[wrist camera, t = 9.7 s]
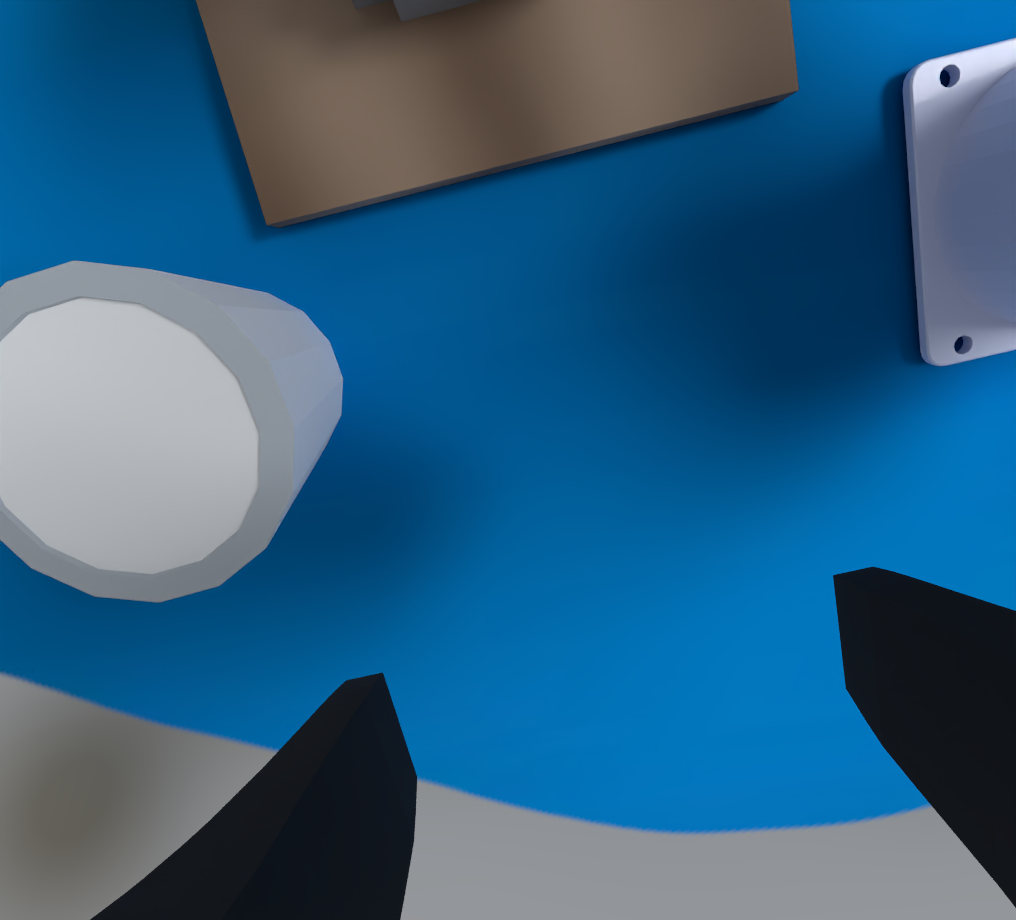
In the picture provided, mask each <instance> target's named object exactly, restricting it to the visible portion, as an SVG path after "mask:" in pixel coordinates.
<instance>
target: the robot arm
mask: <svg viewBox="0 0 1016 920" xmlns="http://www.w3.org/2000/svg"><path fill="white" fill-rule="evenodd" d="M943 69H945V70H946V71H947V72H949V75H950V82H949V85H948V86H947V87H944V86H943V85H942V84H941V83H940V79H939V77H940V72H941V71H942V70H943ZM903 101H904V116H905V131H906V146H907V160H908V175H909V190H910V205H911V219H912V234H913V249H914V264H915V278H916V293H917V308H918V323H919V338H920V352H921V355H922V358H923V359H924V360H925V361H926V362H927V363H929V364H932V365H936V366H947V365H951V364H955V363H960V362H964V361H969V360H973V359H977V358H982V357H986V356H990V355H995V354H999V353H1003V352H1008V351H1012V350H1016V38H1013V39H1010V40H1006V41H1002V42H998V43H994V44H990V45H986V46H982V47H978V48H974V49H970V50H966V51H962V52H958V53H954V54H950V55H946V56H942V57H938V58H935V59H931V60H927V61H925V62H923V63H921V64H919V65H917V66H915V67H913V68H912V69H911V70H910V71H909V72H908V73H907V75H906V77H905V79H904V82H903ZM959 337H962V338H963V346H962V347H961V349H960V350H959V351H957V352H956V351H955V349H954V344H955V341H956V340H957V339H958V338H959ZM833 578H834V587H835V596H836V605H837V614H838V622H839V631H840V640H841V649H842V658H843V667H844V675H845V684H846V689H847V691H848V692H849V694H850V696H851V697H852V699H853V701H854V702H855V704H856V705H857V707H858V709H859V710H860V712H861V713H862V715H863V717H864V718H865V720H866V721H867V723H868V724H869V726H870V728H871V729H872V731H873V732H874V734H875V735H876V737H877V738H878V740H879V741H880V743H881V744H882V746H883V747H884V748H885V749H886V751H887V752H888V753H889V754H890V756H891V757H892V758H893V759H894V761H895V762H896V763H897V764H898V766H899V767H900V768H901V769H902V770H903V772H904V773H905V774H906V775H907V776H908V778H909V779H910V780H911V781H912V783H913V784H914V785H915V786H916V787H917V789H918V790H919V791H920V792H921V793H922V795H923V796H924V797H925V798H926V799H927V801H928V802H929V803H930V804H931V805H932V807H933V808H934V809H935V810H936V811H937V813H938V814H939V815H940V816H941V817H942V819H943V820H944V821H945V822H946V823H947V824H948V826H949V827H950V828H951V829H952V830H953V832H954V833H955V834H956V835H957V836H958V838H959V839H960V840H961V841H962V842H963V844H964V845H965V846H966V847H967V848H968V850H969V851H970V852H971V853H972V854H973V856H974V857H975V858H976V859H977V860H978V862H979V863H980V864H981V865H982V866H983V867H984V869H985V870H986V871H987V872H988V873H989V875H990V876H991V877H992V878H993V880H994V881H995V882H996V883H997V884H998V886H999V887H1000V888H1001V889H1002V891H1003V892H1004V893H1005V895H1006V896H1007V897H1008V898H1009V900H1010V901H1011V902H1012V904H1013V905H1014V906H1015V907H1016V611H1014V610H1011V609H1008V608H1005V607H1002V606H998V605H995V604H992V603H989V602H986V601H983V600H980V599H977V598H974V597H971V596H968V595H965V594H961V593H958V592H955V591H952V590H949V589H946V588H943V587H940V586H937V585H934V584H931V583H928V582H925V581H922V580H919V579H916V578H912V577H909V576H906V575H903V574H899V573H896V572H892V571H889V570H885V569H881V568H876V567H869V568H865V569H860V570H856V571H851V572H846V573H842V574H837V575H833ZM416 792H417V775H416V772H415V769H414V766H413V763H412V760H411V757H410V754H409V751H408V748H407V745H406V742H405V739H404V736H403V733H402V730H401V727H400V723H399V720H398V717H397V714H396V711H395V708H394V705H393V702H392V699H391V696H390V693H389V690H388V687H387V684H386V681H385V678H384V675H383V673H379V674H374V675H369V676H365V677H360V678H356V679H351V680H346V681H345V682H344V683H343V684H342V685H341V686H340V687H339V688H338V689H337V690H336V691H335V692H334V693H333V694H332V695H331V696H330V697H329V698H328V699H327V700H326V701H325V702H324V703H323V704H322V705H321V706H320V707H319V708H318V709H317V711H316V712H315V713H314V714H313V715H312V716H311V717H310V718H309V719H308V720H307V721H306V722H305V724H304V725H303V726H302V727H301V728H300V729H299V730H298V731H297V732H296V733H295V734H294V735H293V736H292V737H291V739H290V740H289V741H288V742H287V743H286V744H285V745H284V746H283V747H282V748H281V749H280V750H279V751H278V752H277V754H276V755H275V756H274V757H273V758H272V759H271V760H270V761H269V762H268V763H267V764H266V765H265V766H264V767H263V768H262V769H261V770H260V771H259V772H258V773H257V774H256V775H255V776H254V777H253V778H252V779H251V780H250V781H249V782H248V783H247V784H246V785H245V786H244V787H243V788H242V789H241V790H240V791H239V792H238V793H237V794H236V795H235V796H234V797H233V798H232V799H231V800H230V801H229V802H228V803H227V804H226V805H225V806H224V807H223V808H222V809H221V810H220V811H219V812H218V813H217V814H216V815H215V816H214V817H213V818H212V819H211V820H210V821H209V822H208V823H206V824H205V825H204V826H203V827H202V828H201V829H200V830H199V831H198V832H197V833H196V834H195V835H193V836H192V837H191V838H190V839H189V840H188V841H187V842H186V843H185V844H183V845H182V846H181V847H180V848H179V849H178V850H177V851H175V852H174V853H173V854H172V855H171V856H170V857H168V858H167V859H166V860H165V861H164V862H162V863H161V864H160V865H159V866H158V867H157V868H155V869H154V870H153V871H152V872H151V873H149V874H148V875H147V876H146V877H145V878H144V879H142V880H141V881H140V882H139V883H138V884H136V885H135V886H134V887H132V888H131V889H130V890H129V891H128V892H126V893H125V894H124V895H122V896H121V897H120V898H118V899H117V900H116V901H114V902H113V903H112V904H110V905H109V906H108V907H106V908H105V909H104V910H102V911H101V912H100V913H98V914H97V915H96V916H94V917H93V918H92V919H91V920H400V917H401V912H402V907H403V901H404V896H405V890H406V884H407V878H408V873H409V867H410V860H411V855H412V848H413V843H414V831H415V815H416Z"/></svg>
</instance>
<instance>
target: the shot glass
mask: <svg viewBox="0 0 1016 920" xmlns="http://www.w3.org/2000/svg"><path fill="white" fill-rule="evenodd" d="M342 390H343V377H342V374H341V371H340V369H339V366H338V363H337V360H336V357H335V355H334V352H333V349H332V346H331V344H330V342H329V340H328V339H327V338H326V337H325V336H324V335H323V333H322V332H321V331H320V330H319V329H318V328H317V327H316V325H315V324H314V323H313V322H312V321H311V320H310V318H309V317H308V316H307V315H306V314H305V313H304V312H303V311H301V310H299V309H297V308H296V307H294V306H292V305H290V304H288V303H286V302H284V301H283V300H281V299H279V298H277V297H275V296H273V295H271V294H269V293H266V292H261V291H256V290H251V289H246V288H241V287H236V286H231V285H226V284H221V283H216V282H211V281H206V280H201V279H196V278H191V277H186V276H181V275H176V274H171V273H166V272H161V271H156V270H151V269H144V268H136V267H127V266H118V265H109V264H100V263H91V262H82V261H71V262H68V263H65V264H61V265H58V266H55V267H52V268H49V269H46V270H42V271H39V272H36V273H33V274H30V275H27V276H23V277H20V278H17V279H14V280H11V281H8V282H6V283H5V284H4V285H3V286H2V287H1V288H0V540H1V541H2V542H3V543H4V544H5V545H7V546H8V547H9V548H10V549H11V550H12V551H13V552H14V553H15V554H16V555H17V556H19V557H20V558H21V559H22V560H23V561H24V562H25V563H26V564H27V565H28V566H29V567H31V568H32V569H34V570H36V571H39V572H41V573H43V574H45V575H48V576H50V577H52V578H54V579H56V580H59V581H61V582H63V583H65V584H68V585H70V586H72V587H74V588H76V589H79V590H81V591H83V592H85V593H88V594H90V595H92V596H94V597H105V598H116V599H127V600H138V601H148V602H159V603H160V602H163V601H167V600H170V599H174V598H178V597H181V596H185V595H188V594H192V593H196V592H199V591H203V590H206V589H210V588H214V587H217V586H220V585H221V584H222V583H224V582H225V581H226V580H227V579H229V578H230V577H231V576H232V575H233V574H235V573H236V572H237V571H238V570H240V569H241V568H242V567H243V566H245V565H246V564H247V563H248V562H250V561H251V560H252V559H253V558H255V557H256V556H257V555H258V554H260V553H261V552H262V551H263V550H264V549H266V547H267V546H268V544H269V542H270V541H271V539H272V537H273V536H274V534H275V532H276V530H277V529H278V527H279V525H280V524H281V522H282V520H283V519H284V517H285V515H286V513H287V512H288V510H289V508H290V507H291V505H292V503H293V501H294V500H295V498H296V496H297V495H298V493H299V491H300V490H301V488H302V486H303V484H304V483H305V481H306V479H307V478H308V476H309V474H310V473H311V471H312V469H313V467H314V466H315V464H316V462H317V461H318V459H319V457H320V456H321V454H322V452H323V450H324V449H325V447H326V445H327V443H328V441H329V439H330V437H331V435H332V433H333V431H334V429H335V427H336V425H337V423H338V421H339V419H340V417H341V413H342Z"/></svg>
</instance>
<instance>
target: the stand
mask: <svg viewBox="0 0 1016 920" xmlns="http://www.w3.org/2000/svg"><path fill="white" fill-rule="evenodd" d="M196 3H197V6H198V9H199V12H200V15H201V19H202V22H203V25H204V28H205V31H206V34H207V38H208V41H209V44H210V47H211V50H212V53H213V57H214V60H215V63H216V66H217V69H218V72H219V76H220V79H221V82H222V85H223V88H224V91H225V95H226V98H227V101H228V104H229V107H230V110H231V114H232V117H233V120H234V123H235V126H236V129H237V133H238V136H239V139H240V142H241V145H242V148H243V152H244V155H245V158H246V161H247V164H248V167H249V171H250V174H251V177H252V180H253V183H254V186H255V190H256V193H257V196H258V199H259V202H260V205H261V209H262V212H263V215H264V218H265V221H266V224H267V225H269V226H273V227H278V228H280V227H284V226H287V225H291V224H295V223H299V222H303V221H307V220H311V219H315V218H319V217H323V216H327V215H331V214H335V213H339V212H343V211H347V210H351V209H355V208H359V207H363V206H367V205H370V204H374V203H378V202H382V201H386V200H390V199H394V198H398V197H402V196H406V195H410V194H414V193H418V192H422V191H426V190H430V189H434V188H438V187H442V186H446V185H449V184H453V183H457V182H461V181H465V180H469V179H473V178H477V177H481V176H485V175H489V174H493V173H497V172H501V171H505V170H509V169H513V168H517V167H521V166H525V165H529V164H532V163H536V162H540V161H544V160H548V159H552V158H556V157H560V156H564V155H568V154H572V153H576V152H580V151H584V150H588V149H592V148H596V147H600V146H604V145H608V144H611V143H615V142H619V141H623V140H627V139H631V138H635V137H639V136H643V135H647V134H651V133H655V132H659V131H663V130H667V129H671V128H675V127H679V126H683V125H687V124H690V123H694V122H698V121H702V120H706V119H710V118H714V117H718V116H722V115H726V114H730V113H734V112H738V111H742V110H746V109H750V108H754V107H758V106H762V105H766V104H770V103H773V102H777V101H781V100H784V99H785V98H787V97H789V96H790V95H792V94H793V93H795V92H797V91H798V90H799V87H798V77H797V68H796V58H795V49H794V39H793V30H792V20H791V11H790V2H789V0H196Z"/></svg>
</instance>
